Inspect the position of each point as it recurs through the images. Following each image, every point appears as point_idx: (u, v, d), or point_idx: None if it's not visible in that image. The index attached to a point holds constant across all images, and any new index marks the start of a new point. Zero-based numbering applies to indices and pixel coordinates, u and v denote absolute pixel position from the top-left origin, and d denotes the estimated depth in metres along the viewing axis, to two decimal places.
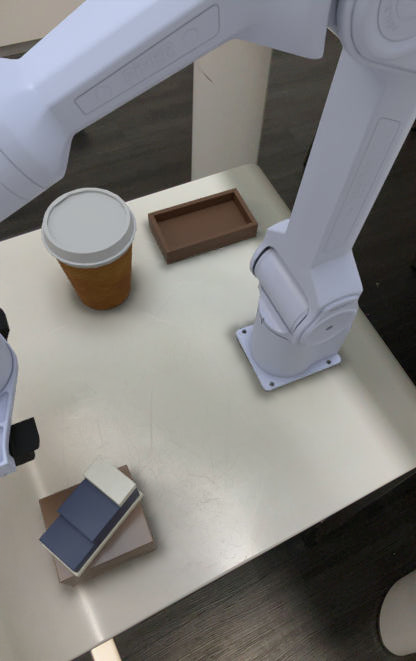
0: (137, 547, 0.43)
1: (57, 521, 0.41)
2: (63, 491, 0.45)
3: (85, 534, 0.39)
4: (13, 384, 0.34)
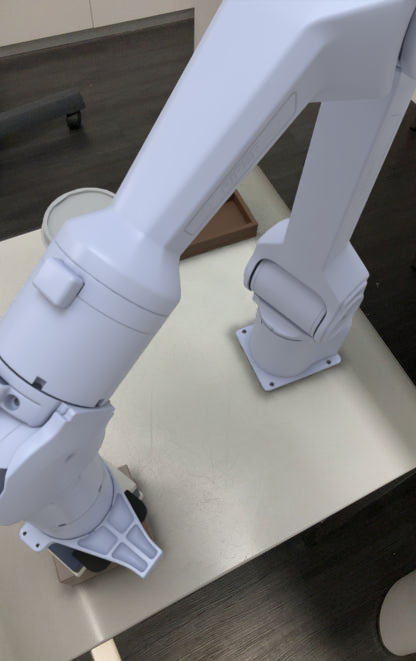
0: None
1: None
2: None
3: None
4: (118, 484, 0.35)
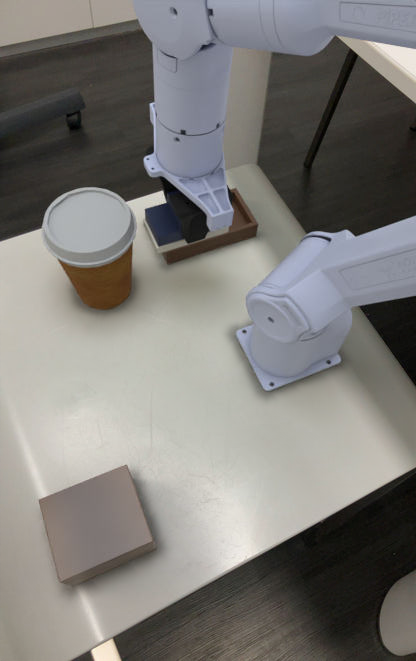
0: (137, 547, 0.43)
1: (162, 205, 0.52)
2: (63, 491, 0.45)
3: None
4: (224, 163, 0.45)
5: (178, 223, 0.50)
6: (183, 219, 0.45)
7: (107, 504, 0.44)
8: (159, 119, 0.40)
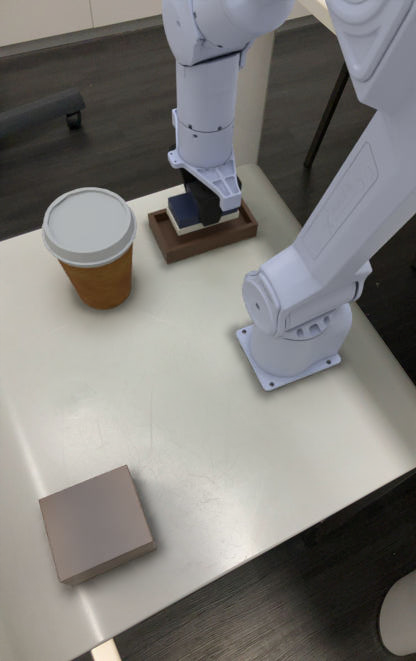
0: (137, 547, 0.43)
1: (182, 194, 0.61)
2: (63, 491, 0.45)
3: (196, 201, 0.59)
4: None
5: (196, 209, 0.60)
6: (200, 203, 0.55)
7: (107, 504, 0.44)
8: (177, 113, 0.50)
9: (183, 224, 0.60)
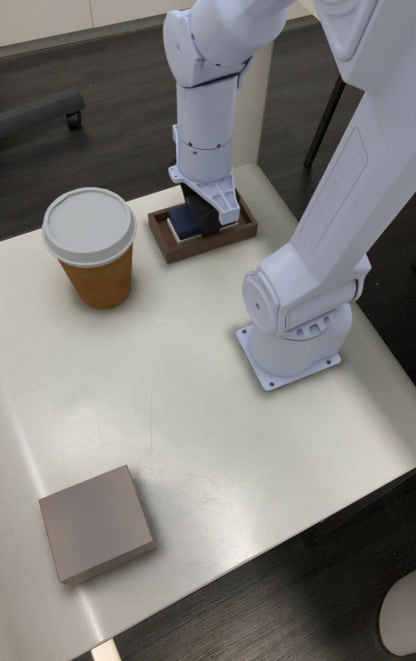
0: (137, 547, 0.43)
1: (182, 207, 0.63)
2: (63, 491, 0.45)
3: None
4: (232, 171, 0.56)
5: (196, 221, 0.62)
6: (200, 216, 0.57)
7: (107, 504, 0.44)
8: (178, 131, 0.52)
9: (183, 236, 0.62)
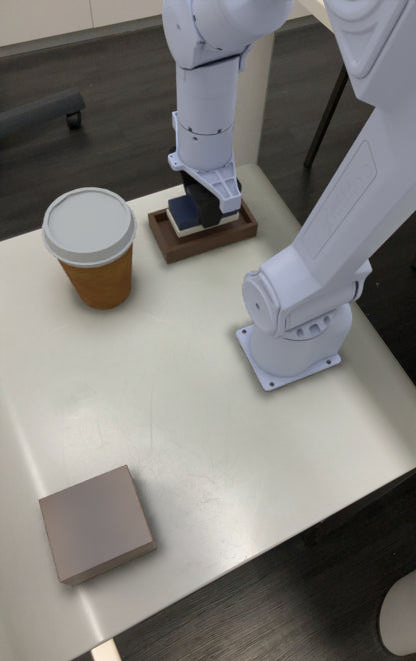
0: (137, 547, 0.43)
1: (182, 196, 0.62)
2: (63, 491, 0.45)
3: (196, 203, 0.59)
4: None
5: (196, 211, 0.60)
6: (200, 205, 0.55)
7: (107, 504, 0.44)
8: (177, 116, 0.51)
9: (183, 226, 0.61)
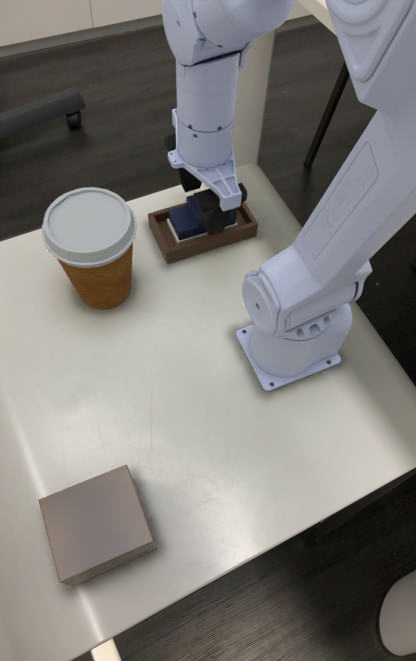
0: (137, 547, 0.43)
1: (182, 207, 0.63)
2: (63, 491, 0.45)
3: (196, 213, 0.61)
4: None
5: (195, 221, 0.62)
6: (205, 212, 0.54)
7: (107, 504, 0.44)
8: (177, 113, 0.50)
9: (183, 236, 0.62)
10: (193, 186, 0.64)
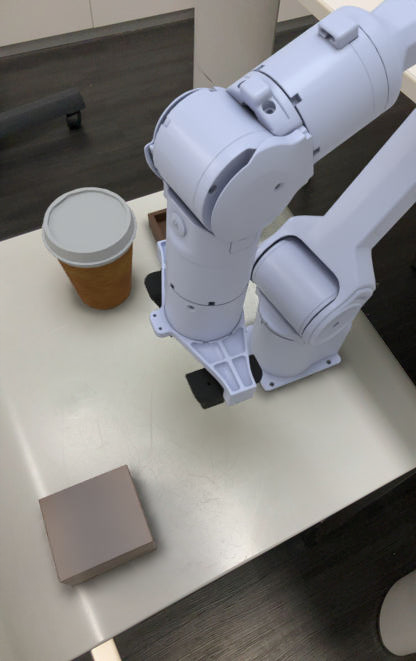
0: (137, 547, 0.43)
1: None
2: (63, 491, 0.45)
3: None
4: (244, 321, 0.38)
5: None
6: (203, 402, 0.38)
7: (107, 504, 0.44)
8: (220, 302, 0.33)
9: None
10: None
